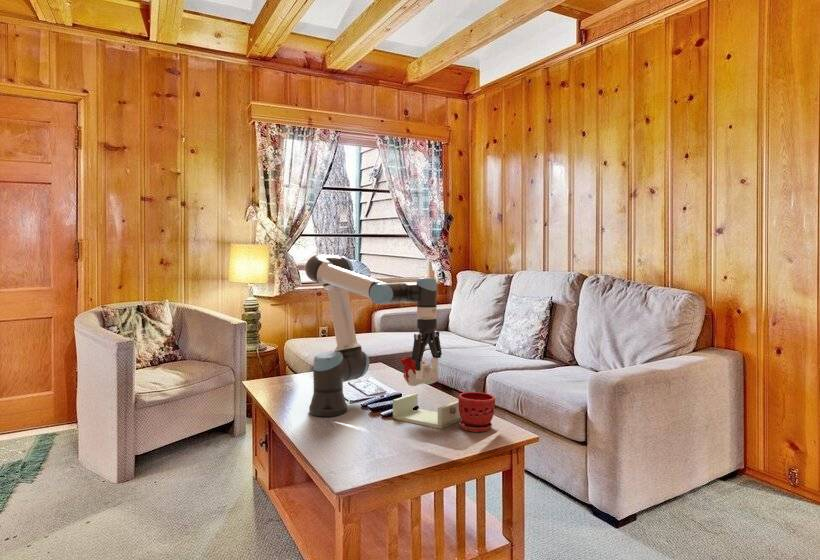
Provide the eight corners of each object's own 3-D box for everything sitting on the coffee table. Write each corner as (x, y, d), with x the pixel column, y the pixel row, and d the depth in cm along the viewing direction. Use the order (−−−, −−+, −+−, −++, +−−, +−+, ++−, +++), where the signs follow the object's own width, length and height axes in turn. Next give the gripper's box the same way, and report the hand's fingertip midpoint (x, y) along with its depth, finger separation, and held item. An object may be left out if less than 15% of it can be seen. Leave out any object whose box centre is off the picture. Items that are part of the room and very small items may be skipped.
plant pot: (472, 436, 174) (472, 401, 174) (451, 426, 186) (451, 393, 185) (502, 430, 180) (502, 397, 180) (480, 421, 192) (480, 389, 192)
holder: (390, 418, 196) (390, 399, 196) (411, 410, 207) (411, 392, 207) (444, 429, 182) (444, 409, 181) (464, 420, 193) (464, 401, 193)
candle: (438, 381, 190) (413, 350, 190) (415, 399, 192) (390, 368, 193) (441, 375, 198) (417, 345, 199) (419, 392, 201) (395, 362, 201)
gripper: (417, 320, 183) (418, 382, 183) (450, 316, 201) (450, 373, 201) (401, 319, 188) (401, 380, 188) (434, 315, 205) (435, 371, 205)
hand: (427, 376), depth 194 cm, fingers closed on candle, 9 cm apart
